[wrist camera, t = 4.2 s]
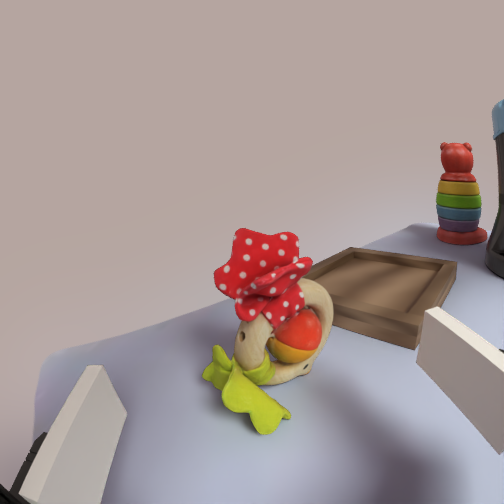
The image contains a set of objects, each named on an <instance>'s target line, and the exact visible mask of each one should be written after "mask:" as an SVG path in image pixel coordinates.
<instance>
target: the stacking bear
mask: <svg viewBox="0 0 504 504" xmlns="http://www.w3.org/2000/svg"><path fill="white" fill-rule="evenodd" d="M440 148H441V150H442V152H441V162H442V165H443V167H444V169H445V171H446V172H445V173H444V174H442V176H441V178H440V179H441V180H440V182H439V185H438V193H437V198H436V203H437V205H436V208H437V214H438V220H439V225H440V227H439V228H438V230H437V237H438V239H439V240H441V241H443V242H446V243H451V244H458V245H469V244H476V243H480V242H483V241H485V240H486V239H487V232H486V231H485V230H484V229H482V228H479V227H478V224H479V218H480V215H481V196H480V195H479V194H480V192H479V187H478V183H476V179H475V177H474V176H473V175H472V174H471V173H470V172H471V170H472V167H473V155H472V153H471V150H472V148H471V145H470V144H469V143H464V144H460V143H450V144H447V143H445V142H444V143H442V144H441V146H440Z"/></svg>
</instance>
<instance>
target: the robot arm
mask: <svg viewBox="0 0 504 504" xmlns="http://www.w3.org/2000/svg"><path fill="white" fill-rule="evenodd" d="M492 121H493V128H494V135H493V139H494V140H495V142H496V150H497V164H498V183H499V184H498V185H499V209H498V213H497V217H496V220H495V223H494V226H493V229H492V232H491V235H490V238H489V241H488V244H487V248H486V258H485V263H486V265H487V267H488V268H489V269H490V270H491V271H493V272H494V273H496V274H497V275H499V276H501V277H503V278H504V99H503V100H501V101H500V102H498V103H497V104H496V105H495V106H494V108H493V110H492ZM416 363H417V364H418V365H419V366H420V367H421V368H422V369H423V370H424V371H425V372H426V374H427V375H428V376H429V377H430V378H431V379H432V380H433V381H434V382H435V383H436V384H437V385H438V386H439V387H440V389H441V390H442V391H443V392H444V393H445V394H446V395H447V396H448V397H449V398H450V399H451V401H452V402H453V403H454V404H455V405H456V406H457V407H458V408H459V409H460V411H461V412H462V413H463V414H464V415H465V416H466V417H467V418H468V419H469V421H470V422H471V423H472V424H473V425H474V426H475V427H476V429H477V430H478V431H479V432H480V433H481V434H482V436H483V437H484V438H485V439H486V440H487V441H488V443H489V444H490V445H491V446H492V447H493V448H494V450H495V451H496V452H497V453H498V454H499V455H500V454H501V453H502V452H503V451H504V350H501V349H497V348H496V347H494V346H493V345H492V344H490V343H489V342H488V341H486V340H485V339H483V338H482V337H481V336H479V335H478V334H477V333H475V332H474V331H472V330H471V329H470V328H468V327H467V326H465V325H464V324H463V323H461V322H460V321H458V320H457V319H455V318H454V317H453V316H451V315H450V314H448V313H447V312H445V311H444V310H442V309H441V308H439V307H438V306H437V307H434V308H431V309H428V310H425V314H424V321H423V327H422V333H421V339H420V345H419V350H418V355H417V360H416ZM126 416H127V412H126V410H125V408H124V406H123V405H122V403H121V401H120V399H119V397H118V395H117V393H116V391H115V389H114V387H113V385H112V383H111V381H110V379H109V377H108V375H107V373H106V370H105V368H104V366H103V365H87V367H86V369H85V370H84V372H83V373H82V375H81V377H80V378H79V380H78V382H77V383H76V385H75V387H74V388H73V390H72V392H71V393H70V395H69V397H68V398H67V400H66V402H65V403H64V405H63V407H62V409H61V410H60V412H59V414H58V416H57V417H56V419H55V421H54V423H53V425H52V427H51V428H50V430H49V432H48V433H45V432H44V433H43V434H42V435H41V436H39V437H38V438H37V439H36V440H35V442H34V444H33V445H32V447H31V449H30V453H28V455H27V457H26V461H24V463H23V465H22V467H21V469H20V471H19V473H18V475H17V477H16V479H15V481H14V483H13V485H12V488H11V489H10V491H7V490H6V489H5V488H4V487H3V486H2V485H1V484H0V504H100V503H101V499H102V496H103V492H104V488H105V485H106V481H107V477H108V474H109V470H110V467H111V464H112V460H113V457H114V454H115V450H116V447H117V444H118V441H119V438H120V434H121V431H122V428H123V425H124V422H125V419H126Z"/></svg>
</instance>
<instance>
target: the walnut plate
mask: <svg viewBox="0 0 504 504" xmlns="http://www.w3.org/2000/svg"><path fill="white" fill-rule="evenodd" d="M456 270H457V262H454V261H447V260H440V259H434V258H427V257H420V256H412V255H405V254H398V253H391V252H383V251H376V250H369V249H361V248H353V247H350V248H348V249H346V250H344V251H342V252H340V253H338V254H335V255H333V256H331V257H329V258H327V259H325V260H323V261H321V262H319V263H317V264H315V265H313V266H311V269H310V271H309V272H308V273H307V274H306V275H304V276H303V277H302V278H305V279H309V280H312V281H315V282H316V283H318V284H320V285H321V286H323V287H324V288H325V289H326V291H327V292H328V294H329V295H330V297H331V300H332V303H333V322H332V325H335V326H338V327H341V328H344V329H347V330H350V331H353V332H357V333H360V334H363V335H366V336H369V337H373V338H376V339H379V340H382V341H386V342H389V343H392V344H396V345H399V346H402V347H406V348H409V349H413V350H415V349H416V347H417V346H418V344H419V343H420V339H421V333H422V327H423V321H424V314H425V310H428V309H431V308H434V307H437V306H438V307H439V308H441V306H442V304H443V302H444V301H445V299H446V297H447V295H448V293H449V291H450V289H451V287H452V285H453V283H454V281H455V279H456ZM304 307H305V308H307V309H308V307H307V306H304Z"/></svg>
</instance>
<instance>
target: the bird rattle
mask: <svg viewBox="0 0 504 504" xmlns="http://www.w3.org/2000/svg"><path fill="white" fill-rule="evenodd" d="M312 263H313V261H312V260H311V258H309V257H303V258H299V242H298V237H297V236H296V235H295V234H293V233H291V232H282V233H278V234H275V235H266V234H262V233H259V232H255V231H252V230H248V229H246V228H240V229H238V230H237V231H236V232H235V235H234V238H233V246H232V254H231V258H230V260H229V261H228V262H227V263H226V264H225V265H223V266H222V267H220V268H218V269H217V270H215V272H214V280H215V285H216V287H217V288H218V290H220V291H221V292H222V293H223V294H225V295H226V296H229V297H230V298H233V299H235V311H236V314H237V316H238V317H239V319H240V320H242V321H241V324H240V326H239V329H238V332H237V336H236V339H235V346H234V354H233V357H232V360H229V358H228V357H227V355H226V353H225V351H224V350H223V348H222V347H221V346H220V345H215V346H213V349H212V352H213V356H212V358H213V361H212V363H210V364H209V365H208V366H207V367H206V368H205V370H204V372H203V374H202V377H203V379H205V380H206V381H211V382H212V383H213V385H214V386H215V388H217V389H219V390H221V391H222V401H223V404H224V406H225V407H227V408H228V409H229V410H231V411H233V412H237V413H244V412H245V413H249V414H250V418H251V421H252V423H253V425H254V427H255V428H256V430H257V431H258V433H260V434H263V435H264V434H266V435H267V434H271V433H273V432H274V431H275V430H276V428H277V427H278V425H279V423H280V421H281V419H282V418H285V419H290V418H291V414H290V412H289V411H288V410H287V409H286V408H284V407H283V406H281V405H280V404H279V403H278V402H277V401H276V400H274V399H273V398H271V397H270V396H269V395H268V394H267V393H265V392H264V391H263V390H262V389H260V388H259V387H258V386H259V385H276V384H281V383H284V382H287V381H289V380H291V379H293V378H295V377H297V376H299V375H305V374H308V373H309V372H310V370H311V367H312V364H313V362H314V360H315V359H316V358H317V356H318V355H319V353H320V352H321V350H322V348H323V347H324V345H325V343H326V341H327V338H328V336H329V333H330V330H331V327H332V322H333V303H332V300H331V297H330V295H329V294H328V292H327V291H326V289H325V288H324V287H323V286H321V285H320V284H318V283H316V282H315V281H312V280H309V279H305V278H302V277H303V276H304V275H306V274H307V273H308V272H309V271H310V269H311V266H312ZM304 306H307V307H308V309H307V308H305V307H304ZM265 345H267V347H268V349H269V352H270V353H271V354H272V355H273V356H274V357H275V358H277V359H278V360H275V361H270V358H269V354H268V352H267V351H266V349H265Z"/></svg>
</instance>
